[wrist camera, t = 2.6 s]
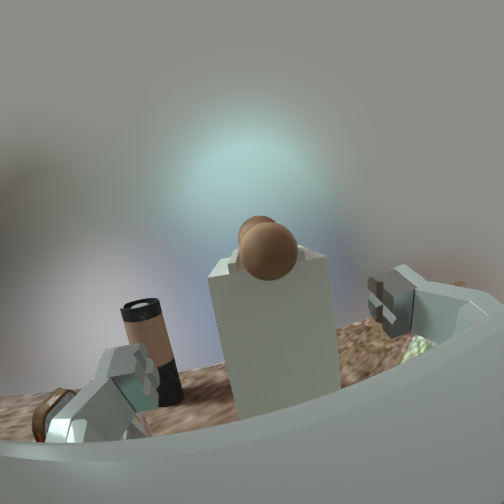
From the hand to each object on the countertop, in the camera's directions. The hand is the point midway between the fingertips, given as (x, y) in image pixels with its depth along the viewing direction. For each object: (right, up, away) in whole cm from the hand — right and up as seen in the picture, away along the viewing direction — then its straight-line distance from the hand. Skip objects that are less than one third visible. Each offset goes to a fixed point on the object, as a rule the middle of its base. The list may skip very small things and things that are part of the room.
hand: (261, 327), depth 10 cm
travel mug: (-17, -27, +45) cm, 55 cm away
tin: (-33, -31, +30) cm, 55 cm away
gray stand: (+6, -24, +30) cm, 39 cm away
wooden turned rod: (+1, +1, +22) cm, 22 cm away
